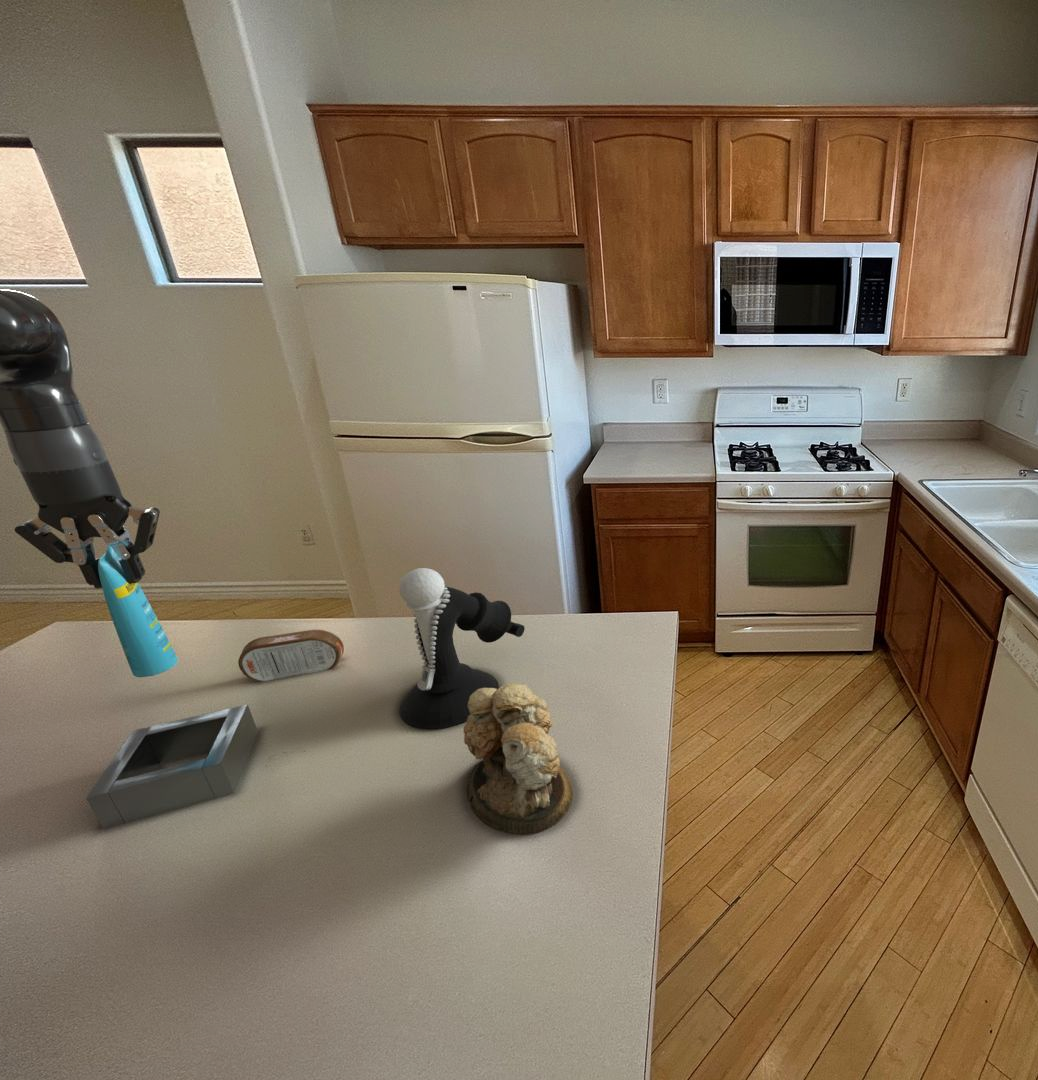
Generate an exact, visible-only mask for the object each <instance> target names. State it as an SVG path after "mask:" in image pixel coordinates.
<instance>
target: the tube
mask: <svg viewBox="0 0 1038 1080" xmlns="http://www.w3.org/2000/svg"><path fill="white" fill-rule="evenodd" d="M120 559H121V558H119V557H118V556H117V554H116V553H115V551H114V550H113V548H112V547H111V546H109V545H107V548H106V550H105V552H104V553H103V554H102V556H101V557H99V561H98V570H99V577H100V581H101V585H102V588H101V589H102V593H103V595H104V599H105V603H106V605H107V609H108V611H109V612H108V613H109V614H110V618H111V621H112V623H113V626H114V628H115V631H116V634H117V637H118V640H119V642H120V645H121V647H122V651H123V653H124V655H125V658H126V661H127V664H128V666H129V669H130V671H131V673H132V675H133V677H136V678H148V677H153V676H157V675H160V674H162V673H165V672H168V671H169V670H171V669H172V668H174V667H176V666H177V664H178V663H179V659H178V656H177V655H176V653H175V651H174V648H173V646H172V645H171V643H170V640H169V639H168V636H167V634H166V632H165V630H164V629H163V627H162V624H161V622H160V621H159V619H158V617H157V615H156V613H155V611H154V609H153V607H152V606H151V603H150V602H149V600H148V598H147V597H146V595H145V593H144V591H143V589H142V587H141V586H140V584H139V582H138V583H133V584H129V583H128V580H127V578H126V576H125V574H124V572H123V569H122V567H121V565H120V563H119V560H120Z"/></svg>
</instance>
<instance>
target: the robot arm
mask: <svg viewBox="0 0 1038 1080" xmlns="http://www.w3.org/2000/svg"><path fill="white" fill-rule="evenodd" d="M73 369H74V368H73V362H72V355H71V349H70V343H69V339H68V336H67V333H66V330H65V328H64V326H63V324H62V323H61V321H60V319H59V318H58V317H57V315H56V314H55V313H54V311H52V309H51V308H49V306H48V305H46V304H45V303H44V302H43V301H41V300H39V299H38V298H36V297H35V296H32V295H30V294H27V293H24V292H21V291H16V290H11V289H0V426H1V428H2V430H3V433H4V435H5V439H6V441H7V446H8V449H9V451H10V453H11V456H12V459H13V460H12V461H13V463H14V464H15V465H16V466H17V468H18V470H19V472H20V474H21V476H22V478H23V481H24V482H25V484H26V487H27V489H28V491H29V493H30V495H31V497H32V499H33V500H34V502H35V503H36V504H37V505H38V512H37V517H36V518H33V519H28V520H26V521H24V522H22V523H20V524H18V525H17V526H15V528H14V532H15V533H16V534H17V535H18V536H19V537H21V538H22V539H23V540H25V541H26V542H27V543H28V544H31V546H33V547H34V548H36V549H37V550H38V551H40V552H41V553H42V554H43V555H45V556H46V557H48V558H49V559H50V560H51V561H52V562H54V563H57V564H63V563H72V564H75V565H77V566H78V568H79V569H80V572H81V573H82V576H83V578H84V580H85V582H86V584H88V585H89V586H93V587H94V589H96V590H98V589H102V585H101V581H100V577H99V570H98V561H99V559H100V557H96V552H95V547H94V540H95V538H101V539H102V540H103V541H104V543H105V544H106V545H107V546H108V545H109V546H111V547H112V548H113V550H114V551H115V553H116V554H117V556H118V557H119V558H121V559H120V560H119V563H120V565H121V567H122V569H123V572H124V574H125V576H126V578H127V580H128V583H129V584H133V583H138V584H139V582H140V581H141V580H142V579H143V577H144V576H145V575H146V569H145V567H144V565H143V561H142V560H141V558H140V555H139V554H143V553H144V552H146V551H147V550H148V549H150V547H152V546H153V544H154V540H155V535H156V531H157V527H158V522H159V519H160V513H161V511H160V509H159V508H157V507H153V506H152V507H149V508H143V507H139V506H133V505H132V503H131V502H130V501H128V499H127V498H125V497H124V496H123V493H122V489H121V487H120V484H119V483H118V480H117V478H116V475H115V473H114V470H113V469H112V465H111V463H110V461H109V459H108V456H107V454H106V452H105V450H104V447H103V445H102V443H101V440H100V439H99V436H98V434H97V433H96V432H95V430H94V429H93V427H92V425H91V423H90V422H89V419H88V416H87V414H86V412H85V409H84V406H83V405H82V402H81V400H80V397H79V396H78V394H77V391H76V390H75V386H74V370H73ZM129 516H131V517H132V521H133V523H134V524H136V525H137V530H136V533H135V538H134V541H133V539H132V538H131V533H130V531H129V529H128V528H127V526H126V525H125V523H126V522H127V519H128V518H129ZM51 528H53V529H54V530H57V531H58V532H60V533H62V534H64V538H65V541H63V540H62V539H61V538H59V537H58V536H57V535H56V534H54V533H53V532H51V531H52V530H51Z"/></svg>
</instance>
